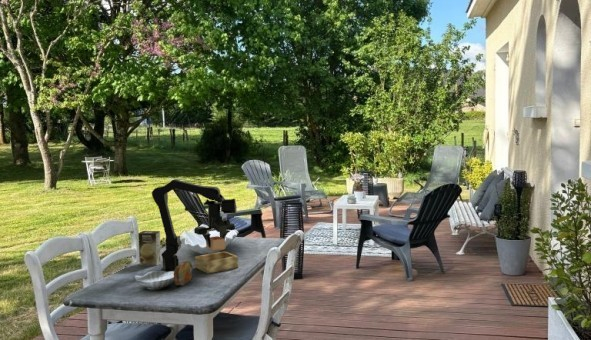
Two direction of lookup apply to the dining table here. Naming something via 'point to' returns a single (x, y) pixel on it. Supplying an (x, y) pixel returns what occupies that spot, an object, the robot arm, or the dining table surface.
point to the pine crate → (216, 262)
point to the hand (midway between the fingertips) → (215, 246)
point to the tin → (183, 273)
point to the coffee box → (149, 248)
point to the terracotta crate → (216, 243)
